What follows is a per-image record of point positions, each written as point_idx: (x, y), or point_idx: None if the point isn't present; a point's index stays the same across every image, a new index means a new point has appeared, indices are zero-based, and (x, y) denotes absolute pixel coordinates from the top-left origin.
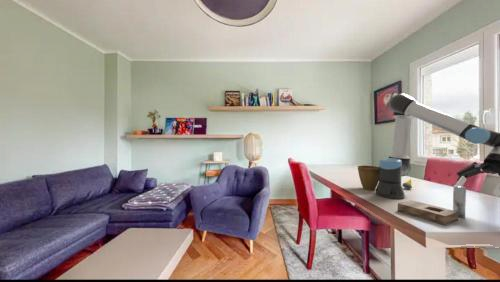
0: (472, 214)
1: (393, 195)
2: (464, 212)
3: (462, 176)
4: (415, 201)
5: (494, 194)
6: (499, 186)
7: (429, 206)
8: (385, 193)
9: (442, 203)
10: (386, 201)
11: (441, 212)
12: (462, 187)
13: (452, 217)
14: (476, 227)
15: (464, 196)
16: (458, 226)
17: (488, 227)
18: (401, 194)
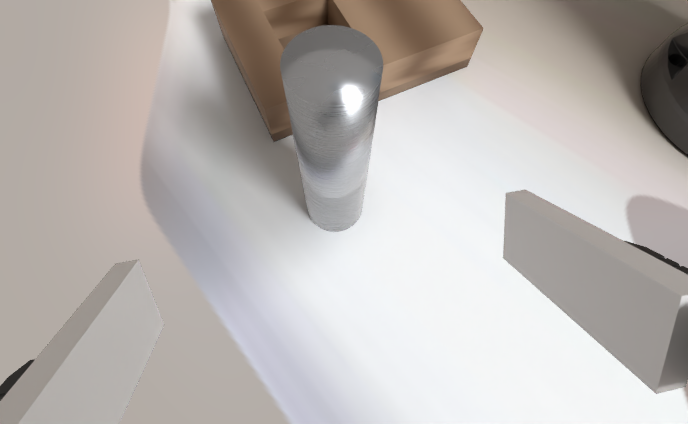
0: (375, 339)
1: (658, 62)
2: (305, 196)
3: (675, 279)
4: (452, 30)
5: (144, 291)
6: (51, 345)
7: None
8: (679, 28)
9: None
10: (562, 16)
11: (259, 19)
12: (297, 60)
13: (243, 72)
14: (188, 149)
15: (291, 126)
16: (209, 82)
17: (179, 209)
18: (686, 106)
